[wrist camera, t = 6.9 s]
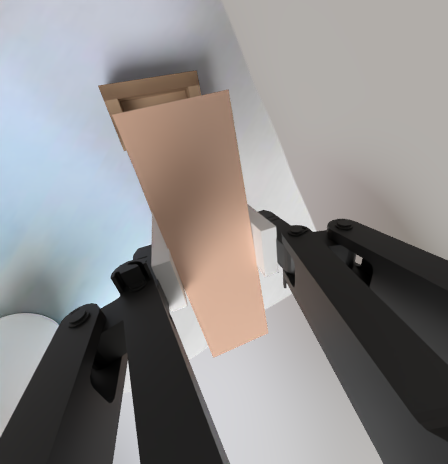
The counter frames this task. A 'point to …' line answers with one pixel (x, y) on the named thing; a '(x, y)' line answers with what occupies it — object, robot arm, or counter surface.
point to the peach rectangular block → (201, 210)
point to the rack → (148, 93)
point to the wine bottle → (20, 356)
